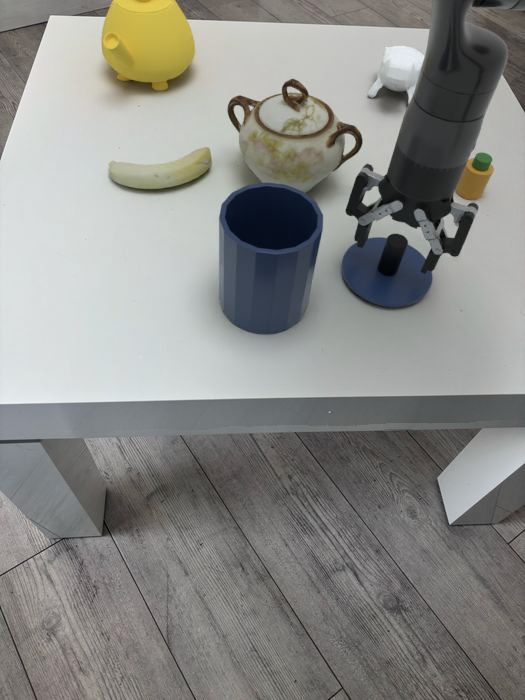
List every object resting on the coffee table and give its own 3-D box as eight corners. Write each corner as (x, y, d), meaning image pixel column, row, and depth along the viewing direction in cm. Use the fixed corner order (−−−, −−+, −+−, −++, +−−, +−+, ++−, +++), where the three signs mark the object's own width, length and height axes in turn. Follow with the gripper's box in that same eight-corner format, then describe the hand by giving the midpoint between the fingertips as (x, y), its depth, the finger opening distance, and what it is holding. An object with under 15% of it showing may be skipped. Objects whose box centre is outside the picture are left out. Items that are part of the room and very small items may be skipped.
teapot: (160, 119, 88) (151, 30, 77) (75, 95, 90) (54, 5, 79) (209, 62, 99) (208, -23, 88) (133, 42, 101) (122, -44, 90)
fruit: (217, 189, 79) (217, 170, 76) (111, 198, 77) (107, 178, 74) (210, 159, 83) (209, 140, 80) (109, 166, 81) (105, 146, 78)
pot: (320, 288, 69) (339, 205, 58) (282, 348, 64) (295, 268, 53) (246, 256, 72) (250, 170, 61) (203, 311, 66) (200, 227, 55)
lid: (440, 264, 73) (457, 229, 68) (413, 324, 67) (429, 290, 62) (360, 232, 76) (370, 196, 71) (326, 287, 70) (334, 252, 65)
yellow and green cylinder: (484, 188, 83) (501, 154, 78) (477, 203, 81) (494, 169, 76) (459, 179, 84) (474, 145, 79) (452, 194, 82) (466, 160, 77)
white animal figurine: (371, 90, 103) (363, 101, 90) (384, 40, 98) (378, 43, 86) (416, 101, 102) (414, 113, 89) (431, 50, 97) (431, 55, 84)
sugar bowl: (206, 187, 79) (203, 88, 67) (246, 133, 87) (250, 36, 75) (333, 228, 76) (355, 132, 64) (363, 168, 84) (387, 73, 72)
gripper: (356, 138, 55) (330, 253, 68) (494, 187, 52) (438, 297, 65) (382, 103, 59) (352, 218, 72) (511, 147, 56) (455, 258, 69)
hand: (393, 256), depth 69 cm, fingers open, 8 cm apart
